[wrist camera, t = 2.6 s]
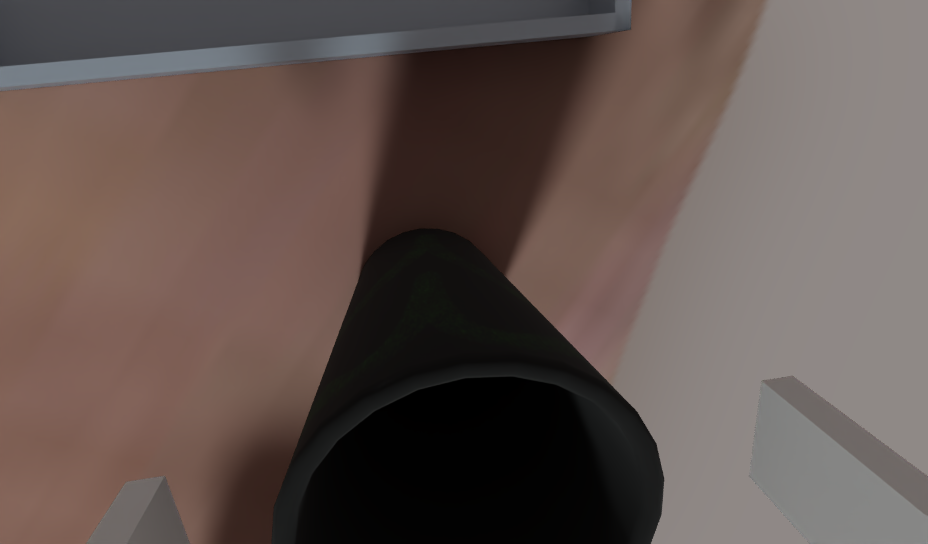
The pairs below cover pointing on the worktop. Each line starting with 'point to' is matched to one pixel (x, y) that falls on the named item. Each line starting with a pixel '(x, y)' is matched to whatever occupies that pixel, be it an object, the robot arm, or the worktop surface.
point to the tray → (265, 33)
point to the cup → (463, 419)
